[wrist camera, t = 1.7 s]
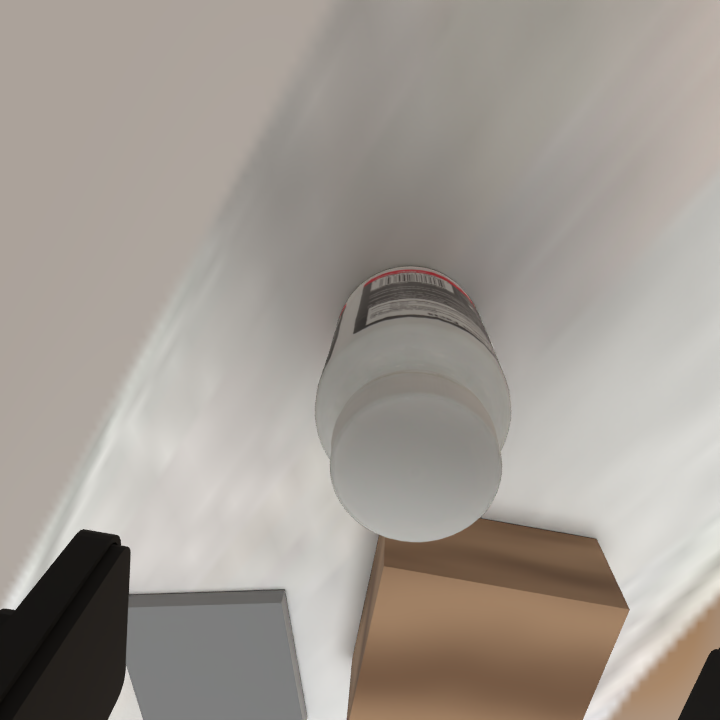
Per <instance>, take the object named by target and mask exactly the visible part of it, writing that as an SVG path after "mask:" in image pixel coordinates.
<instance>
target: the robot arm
mask: <svg viewBox="0 0 720 720" xmlns="http://www.w3.org/2000/svg"><path fill="white" fill-rule="evenodd" d="M129 578H130V548H129V547H126V546H121V540H120V537H119V536H118V535H114V534H108V533H102V532H96V531H91V530H85V529H83V530H80V531H79V532H78V533H77V534H76V535H75V536H74V538H73V539H72V540H71V541H70V543H69V544H68V545H67V546H66V548H65V549H64V550H63V551H62V553H61V554H60V555H59V556H58V558H57V559H56V560H55V561H54V563H53V564H52V565H51V566H50V568H49V569H48V570H47V571H46V573H45V574H44V575H43V576H42V578H41V579H40V580H39V581H38V583H37V584H36V585H35V586H34V588H33V589H32V590H31V591H30V593H29V594H28V595H27V596H26V598H25V599H24V600H23V601H22V602H21V604H20V605H19V606H18V607H17V609H16V610H11V609H1V610H0V720H108V718H109V716H110V714H111V712H112V710H113V708H114V706H115V704H116V702H117V700H118V697H119V695H120V692H121V689H122V686H123V683H124V678H125V670H126V647H127V624H128V601H129ZM678 720H720V648H719V649H715V650H713V651H711V653H710V654H709V656H708V658H707V660H706V662H705V664H704V666H703V668H702V671H701V673H700V675H699V677H698V679H697V681H696V683H695V685H694V687H693V689H692V691H691V693H690V696H689V698H688V700H687V702H686V704H685V706H684V708H683V710H682V712H681V715H680V717H679V719H678Z"/></svg>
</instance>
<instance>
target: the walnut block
mask: <svg viewBox="0 0 720 720" xmlns="http://www.w3.org/2000/svg"><path fill="white" fill-rule="evenodd" d="M629 610H630V609H629V607H628V605H627V603H626V601H625V599H624V597H623V594H622V592H621V590H620V588H619V586H618V584H617V582H616V579H615V577H614V575H613V573H612V571H611V569H610V567H609V564H608V562H607V560H606V558H605V556H604V554H603V552H602V550H601V547H600V545H599V543H598V541H597V539H593V538H587V537H582V536H576V535H570V534H565V533H559V532H553V531H548V530H542V529H537V528H531V527H525V526H520V525H514V524H508V523H503V522H497V521H492V520H486V519H480V518H479V519H478V520H476V521H475V522H474V523H473V524H471V525H470V526H469V527H467V528H466V529H464V530H462V531H460V532H458V533H456V534H454V535H451V536H449V537H446V538H443V539H439V540H434V541H428V542H407V541H399V540H395V539H390V538H387V537H384V536H381V535H379V538H378V543H377V547H376V552H375V556H374V561H373V566H372V570H371V575H370V580H369V584H368V589H367V593H366V598H365V603H364V607H363V612H362V616H361V621H360V626H359V630H358V635H357V640H356V644H355V649H354V653H353V658H352V668H351V679H350V690H349V701H348V712H347V720H583V718H584V715H585V713H586V711H587V708H588V706H589V704H590V701H591V699H592V697H593V694H594V692H595V690H596V687H597V685H598V683H599V680H600V678H601V676H602V673H603V671H604V669H605V666H606V664H607V661H608V659H609V657H610V654H611V652H612V650H613V647H614V645H615V643H616V640H617V638H618V636H619V633H620V631H621V629H622V626H623V624H624V622H625V619H626V617H627V615H628V612H629Z"/></svg>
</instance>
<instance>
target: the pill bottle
mask: <svg viewBox="0 0 720 720" xmlns="http://www.w3.org/2000/svg"><path fill="white" fill-rule="evenodd" d="M315 420H316V426H317V431H318V435H319V439H320V441H321V444H322V446H323V448H324V450H325V452H326V454H327V456H328V458H329V459H330V474H331V480H332V484H333V487H334V491H335V493H336V495H337V497H338V499H339V501H340V503H341V504H342V506H343V507H344V508H345V510H346V511H347V512H348V513H349V514H350V515H351V516H352V517H353V518H354V519H355V520H356V521H357V522H358V523H360V524H361V525H362V526H364V527H365V528H367V529H369V530H370V531H372V532H374V533H376V534H379V535H381V536H384V537H387V538H390V539H395V540H399V541H407V542H428V541H434V540H439V539H443V538H446V537H449V536H451V535H454V534H456V533H458V532H460V531H462V530H464V529H466V528H467V527H469V526H470V525H471V524H473V523H474V522H475V521H476V520H478V519H479V518H480V517H481V516H482V515H483V514H484V513H485V512H486V511H487V509H488V508H489V506H490V505H491V503H492V501H493V500H494V498H495V496H496V493H497V491H498V488H499V485H500V481H501V475H502V458H501V449H502V447H503V445H504V442H505V440H506V437H507V434H508V431H509V426H510V421H511V401H510V394H509V388H508V385H507V381H506V378H505V376H504V374H503V372H502V369H501V367H500V364H499V362H498V359H497V357H496V354H495V352H494V350H493V347H492V345H491V342H490V340H489V338H488V335H487V332H486V331H485V328H484V326H483V323H482V321H481V318H480V316H479V314H478V312H477V310H476V308H475V306H474V304H473V302H472V301H471V299H470V298H469V296H468V295H467V293H466V292H465V291H464V290H463V289H462V288H461V287H460V286H459V285H458V284H457V283H456V282H454V281H453V280H452V279H450V278H448V277H447V276H445V275H444V274H442V273H439V272H437V271H435V270H431V269H428V268H423V267H414V266H407V267H397V268H392V269H388V270H385V271H382V272H380V273H378V274H376V275H374V276H372V277H370V278H369V279H367V280H366V281H365V282H363V283H362V284H361V285H360V286H359V287H358V288H357V289H356V290H355V291H354V292H353V293H352V294H351V296H350V297H349V299H348V300H347V302H346V304H345V305H344V307H343V309H342V312H341V314H340V317H339V320H338V323H337V327H336V331H335V334H334V337H333V341H332V345H331V348H330V351H329V354H328V357H327V360H326V363H325V367H324V369H323V372H322V375H321V378H320V381H319V384H318V389H317V395H316V403H315Z"/></svg>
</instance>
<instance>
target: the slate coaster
mask: <svg viewBox="0 0 720 720" xmlns="http://www.w3.org/2000/svg"><path fill="white" fill-rule="evenodd" d="M126 666H127V669H128V672H129V675H130V679H131V682H132V685H133V688H134V692H135V695H136V698H137V701H138V704H139V708H140V711H141V714H142V717H143V720H307V714H306V708H305V702H304V697H303V691H302V685H301V680H300V674H299V668H298V663H297V657H296V651H295V646H294V640H293V634H292V629H291V623H290V617H289V612H288V606H287V600H286V595H285V590H268V591H238V592H207V593H177V594H147V595H129V601H128V624H127V647H126Z"/></svg>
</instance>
